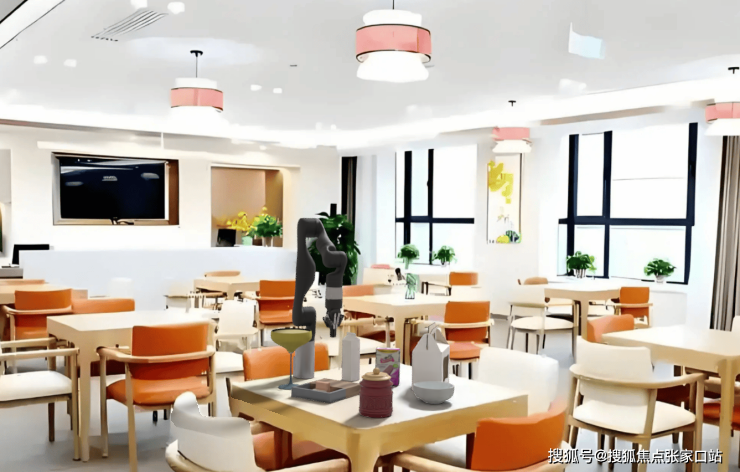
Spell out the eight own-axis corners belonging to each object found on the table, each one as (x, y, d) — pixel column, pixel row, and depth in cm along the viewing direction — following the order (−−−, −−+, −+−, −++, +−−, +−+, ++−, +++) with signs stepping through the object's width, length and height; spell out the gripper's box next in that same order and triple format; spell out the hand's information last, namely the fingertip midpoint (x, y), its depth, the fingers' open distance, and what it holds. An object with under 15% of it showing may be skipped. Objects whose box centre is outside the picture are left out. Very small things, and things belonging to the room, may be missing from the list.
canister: (372, 420, 270) (372, 372, 269) (352, 412, 280) (352, 366, 280) (399, 415, 277) (400, 368, 277) (379, 408, 288) (379, 363, 288)
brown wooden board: (307, 391, 315) (307, 382, 315) (324, 387, 325) (324, 378, 325) (345, 398, 304) (345, 388, 304) (362, 393, 314) (362, 383, 314)
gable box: (441, 392, 317) (442, 328, 316) (411, 390, 320) (412, 326, 320) (449, 382, 338) (450, 322, 338) (421, 380, 342) (422, 320, 341)
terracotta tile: (318, 392, 309) (315, 393, 307) (318, 380, 309) (315, 381, 307) (330, 394, 306) (327, 395, 304) (330, 382, 306) (327, 383, 304)
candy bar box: (374, 385, 331) (375, 348, 330) (375, 382, 336) (376, 346, 335) (399, 385, 329) (400, 349, 329) (400, 383, 334) (400, 347, 334)
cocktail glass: (263, 389, 317) (264, 332, 317) (279, 381, 335) (280, 327, 335) (302, 392, 313) (303, 334, 312) (316, 384, 330) (317, 329, 330)
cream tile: (314, 388, 307) (314, 393, 307) (307, 390, 303) (307, 395, 303) (326, 390, 304) (326, 395, 304) (319, 392, 300) (319, 397, 300)
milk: (350, 381, 337) (351, 334, 337) (341, 379, 341) (341, 332, 341) (359, 379, 342) (360, 332, 341) (350, 377, 346) (351, 331, 345)
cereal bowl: (462, 403, 297) (462, 386, 297) (429, 408, 288) (430, 390, 288) (437, 395, 312) (437, 378, 312) (404, 399, 303) (405, 382, 303)
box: (291, 396, 305) (291, 387, 305) (307, 391, 315) (307, 382, 315) (329, 403, 294) (329, 393, 294) (345, 398, 304) (345, 388, 304)
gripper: (336, 295, 324) (335, 334, 325) (317, 297, 313) (316, 338, 314) (350, 296, 320) (349, 336, 320) (331, 299, 309) (330, 340, 309)
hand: (332, 337), depth 317 cm, fingers closed
